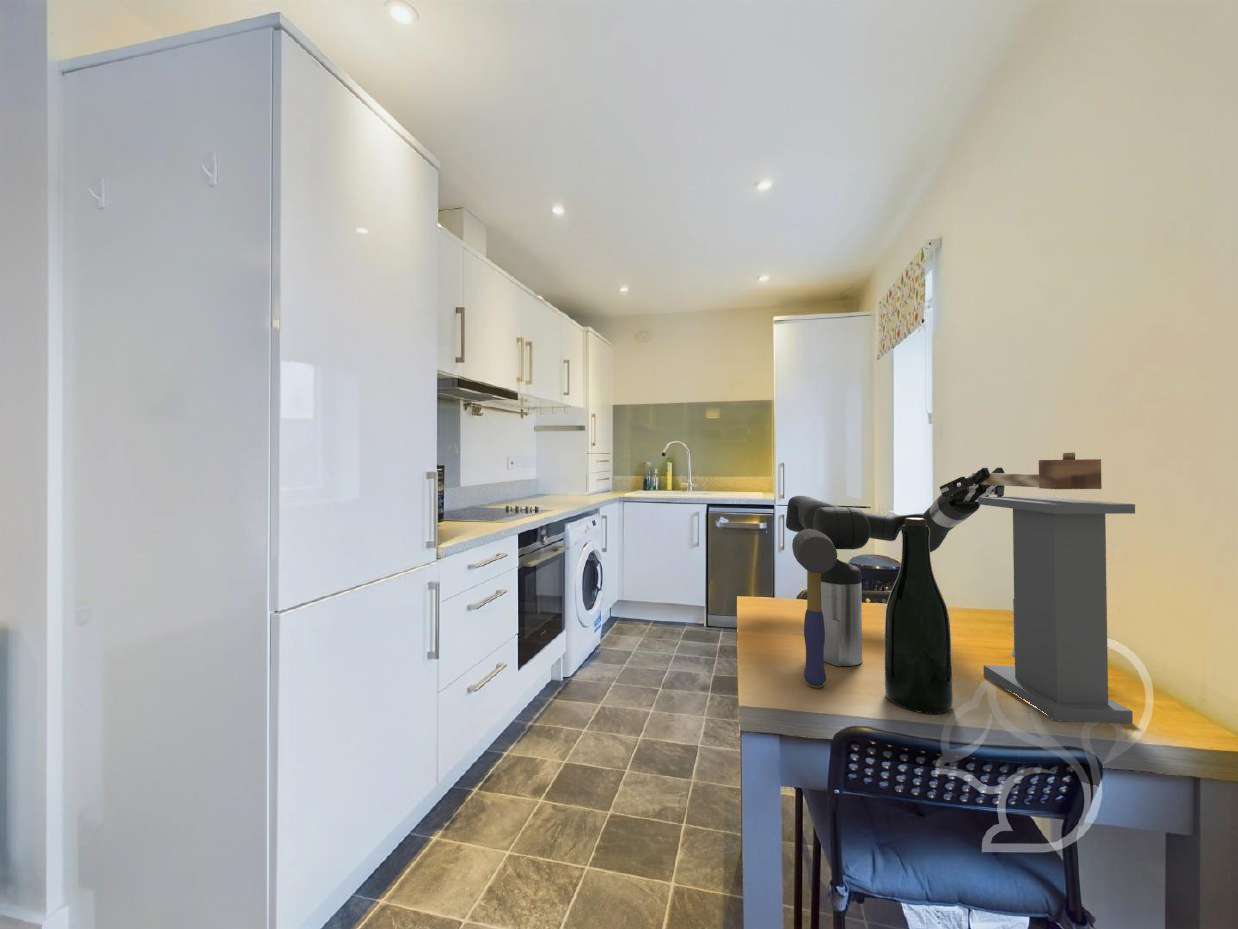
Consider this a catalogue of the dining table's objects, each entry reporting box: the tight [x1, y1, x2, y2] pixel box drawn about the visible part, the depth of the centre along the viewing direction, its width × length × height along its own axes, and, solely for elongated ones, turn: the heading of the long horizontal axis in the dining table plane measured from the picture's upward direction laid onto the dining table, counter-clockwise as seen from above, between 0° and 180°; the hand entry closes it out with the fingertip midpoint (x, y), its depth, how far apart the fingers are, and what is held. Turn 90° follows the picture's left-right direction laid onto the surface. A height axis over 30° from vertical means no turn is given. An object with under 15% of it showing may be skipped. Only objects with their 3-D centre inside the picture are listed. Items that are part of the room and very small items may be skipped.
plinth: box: [978, 496, 1136, 724], centre depth 91 cm, size 20×12×36 cm, turn 175°
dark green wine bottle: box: [884, 518, 954, 714], centre depth 89 cm, size 10×10×33 cm
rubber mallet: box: [791, 529, 838, 689], centre depth 96 cm, size 12×8×30 cm, turn 166°
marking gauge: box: [971, 452, 1103, 490], centre depth 97 cm, size 27×7×6 cm, turn 175°
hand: (994, 471), depth 105 cm, fingers closed on marking gauge, 2 cm apart
